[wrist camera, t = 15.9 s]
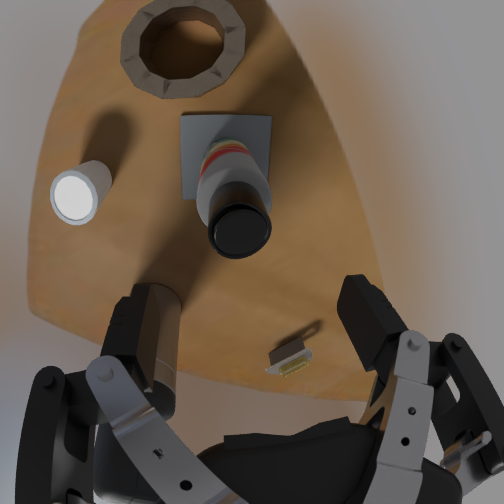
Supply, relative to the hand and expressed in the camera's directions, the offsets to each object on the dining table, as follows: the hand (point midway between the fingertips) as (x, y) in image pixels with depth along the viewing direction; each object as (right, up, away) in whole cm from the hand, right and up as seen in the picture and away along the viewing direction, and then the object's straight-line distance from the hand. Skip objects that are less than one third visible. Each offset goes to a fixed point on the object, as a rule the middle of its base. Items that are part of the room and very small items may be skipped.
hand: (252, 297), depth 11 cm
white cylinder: (-21, +12, +21) cm, 32 cm away
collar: (-8, +25, +14) cm, 30 cm away
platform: (+7, -18, +44) cm, 48 cm away
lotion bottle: (-3, +14, +22) cm, 26 cm away
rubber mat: (-3, +14, +22) cm, 26 cm away
